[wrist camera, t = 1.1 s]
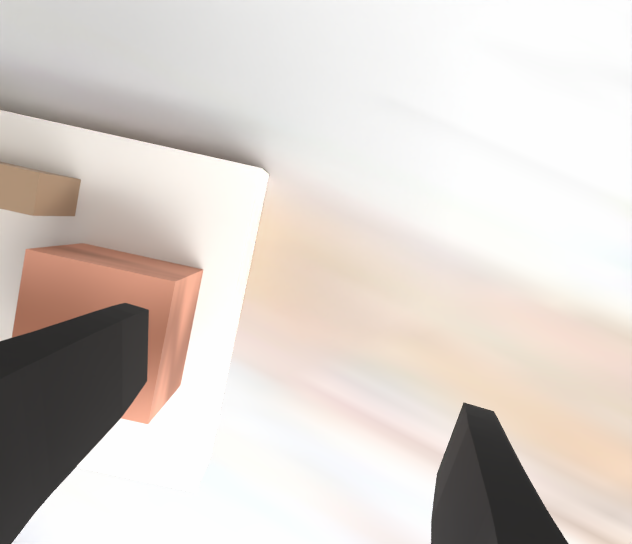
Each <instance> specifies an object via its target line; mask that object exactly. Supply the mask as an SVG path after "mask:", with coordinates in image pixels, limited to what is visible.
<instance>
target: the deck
mask: <svg viewBox="0 0 632 544" xmlns="http://www.w3.org/2000/svg"><path fill="white" fill-rule="evenodd" d="M268 179H269V174H268V173H267V172H266V171H265V170H263V169H262V168H259V167H255V166H250V165H246V164H241V163H237V162H232V161H228V160H223V159H219V158H214V157H210V156H205V155H201V154H196V153H192V152H187V151H183V150H178V149H174V148H169V147H165V146H160V145H156V144H151V143H147V142H142V141H138V140H133V139H129V138H125V137H120V136H116V135H111V134H107V133H102V132H98V131H93V130H89V129H84V128H80V127H75V126H71V125H66V124H62V123H57V122H53V121H48V120H44V119H39V118H35V117H30V116H26V115H21V114H17V113H12V112H8V111H3V110H0V341H2V340H6V339H9V338H12V332H13V326H14V320H15V314H16V307H17V301H18V295H19V288H20V282H21V276H22V269H23V263H24V257H25V251H26V249H30V248H40V247H50V246H60V245H69V244H79V243H85V244H89V245H94V246H98V247H103V248H108V249H112V250H117V251H121V252H126V253H130V254H135V255H140V256H144V257H149V258H153V259H158V260H162V261H167V262H171V263H176V264H181V265H185V266H190V267H194V268H199V269H203V274H202V279H201V284H200V289H199V295H198V300H197V305H196V310H195V315H194V320H193V325H192V330H191V335H190V340H189V345H188V350H187V355H186V360H185V365H184V371H183V376H182V381H181V386H180V387H179V388H178V389H177V390H176V392H175V393H174V394H173V395H172V396H171V398H170V399H169V400H168V401H167V402H166V404H165V405H164V406H163V407H162V408H161V410H160V411H159V412H158V413H157V414H156V415H155V417H154V418H153V419H152V420H151V421H150V423H149V424H144V423H139V422H134V421H130V420H125V419H120V420H119V421H118V422H117V423H116V424H115V425H114V426H113V428H112V429H111V430H110V431H109V432H108V433H107V434H106V435H105V436H104V437H103V438H102V440H101V441H100V442H99V443H98V444H97V445H96V446H95V447H94V448H93V449H92V450H91V451H90V453H89V454H88V455H87V456H86V457H85V458H84V459H83V460H82V461H81V462H80V463H79V464H78V465H77V468H82V469H87V470H92V471H96V472H101V473H106V474H110V475H115V476H120V477H124V478H129V479H134V480H139V481H143V482H148V483H153V484H157V485H162V486H167V487H172V488H176V489H181V490H186V491H190V492H196V490H197V488H198V485H199V483H200V481H201V479H202V477H203V474H204V472H205V470H206V468H207V466H208V463H209V461H210V459H211V454H212V449H213V444H214V439H215V435H216V430H217V425H218V420H219V415H220V410H221V406H222V401H223V396H224V391H225V386H226V382H227V377H228V372H229V367H230V362H231V357H232V353H233V348H234V343H235V338H236V333H237V328H238V324H239V319H240V314H241V309H242V304H243V300H244V295H245V290H246V285H247V280H248V275H249V271H250V266H251V261H252V256H253V251H254V246H255V242H256V237H257V232H258V227H259V222H260V217H261V213H262V208H263V203H264V198H265V193H266V189H267V184H268Z"/></svg>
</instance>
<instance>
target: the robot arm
mask: <svg viewBox="0 0 632 544" xmlns="http://www.w3.org/2000/svg"><path fill="white" fill-rule="evenodd" d="M148 327H149V309H145V308H142V307H138V306H135V305H132V304H128V303H122V304H118V305H114V306H110V307H107V308H104V309H100V310H97V311H94V312H91V313H88V314H85V315H82V316H79V317H76V318H73V319H70V320H67V321H64V322H61V323H58V324H54V325H51V326H48V327H45V328H42V329H39V330H36V331H33V332H30V333H26V334H23V335H20V336H16V337H13V338H9V339H6V340H2V341H0V544H11V543H12V542H13V541H14V539H15V538H16V537H17V535H18V534H19V533H20V532H21V530H22V529H23V528H24V526H25V525H26V524H27V522H28V521H29V520H30V519H31V517H32V516H33V515H34V513H35V512H36V511H37V510H38V509H39V507H40V506H41V505H42V504H43V503H44V502H45V500H46V499H47V498H48V497H49V496H50V495H51V493H52V492H53V491H54V490H55V489H56V488H57V487H58V486H59V485H60V484H61V483H62V482H63V481H64V479H65V478H66V477H67V476H68V475H69V474H70V473H71V472H72V471H73V470H74V469H75V468H76V467H77V465H78V464H79V463H80V462H81V461H82V460H83V459H84V458H85V457H86V456H87V455H88V454H89V453H90V451H91V450H92V449H93V448H94V447H95V446H96V445H97V444H98V443H99V442H100V441H101V440H102V438H103V437H104V436H105V435H106V434H107V433H108V432H109V431H110V430H111V429H112V428H113V426H114V425H115V424H116V423H117V422H118V421H119V420H120V419H121V417H122V416H123V415H124V414H125V412H126V411H127V409H128V408H129V407H130V405H131V404H132V403H133V401H134V400H135V398H136V397H137V395H138V394H139V392H140V391H141V389H142V388H143V386H144V385H145V384H146V382H147V372H148ZM431 544H568V542H567V541H566V539H565V538H564V536H563V535H562V533H561V532H560V530H559V528H558V527H557V525H556V524H555V522H554V521H553V519H552V517H551V516H550V514H549V512H548V511H547V509H546V507H545V506H544V504H543V502H542V500H541V499H540V497H539V495H538V493H537V492H536V490H535V488H534V486H533V485H532V483H531V481H530V479H529V478H528V476H527V474H526V472H525V470H524V469H523V467H522V465H521V463H520V461H519V459H518V457H517V455H516V453H515V451H514V450H513V448H512V446H511V444H510V442H509V440H508V438H507V436H506V434H505V432H504V430H503V428H502V426H501V424H500V422H499V420H498V418H497V416H496V415H495V413H494V411H491V410H487V409H484V408H480V407H477V406H474V405H470V404H467V403H463V406H462V409H461V411H460V414H459V417H458V419H457V422H456V425H455V427H454V430H453V433H452V435H451V438H450V441H449V443H448V446H447V449H446V451H445V454H444V457H443V459H442V462H441V465H440V467H439V470H438V473H437V478H436V486H435V494H434V502H433V511H432V521H431Z"/></svg>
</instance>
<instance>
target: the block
mask: <svg viewBox="0 0 632 544" xmlns="http://www.w3.org/2000/svg"><path fill="white" fill-rule="evenodd" d="M202 274H203V269H199V268H194V267H190V266H185V265H181V264H176V263H171V262H167V261H162V260H158V259H153V258H149V257H144V256H140V255H135V254H130V253H126V252H121V251H117V250H112V249H108V248H103V247H98V246H94V245H89V244H85V243H79V244H69V245H60V246H50V247H40V248H30V249H26V251H25V257H24V263H23V269H22V276H21V282H20V288H19V295H18V301H17V307H16V314H15V320H14V326H13V332H12V338H13V337H16V336H20V335H23V334H26V333H30V332H33V331H36V330H39V329H42V328H45V327H48V326H51V325H54V324H58V323H61V322H64V321H67V320H70V319H73V318H76V317H79V316H82V315H85V314H88V313H91V312H94V311H97V310H100V309H104V308H107V307H110V306H114V305H118V304H122V303H128V304H132V305H135V306H138V307H142V308H145V309H149V327H148V372H147V382H146V384H145V385H144V386H143V388H142V389H141V391H140V392H139V394H138V395H137V397H136V398H135V400H134V401H133V403H132V404H131V405H130V407H129V408H128V409H127V411H126V412H125V414H124V415H123V416H122V417H121V419H125V420H130V421H134V422H139V423H144V424H149V423H150V421H151V420H152V419H153V418H154V417H155V415H156V414H157V413H158V412H159V411H160V410H161V408H162V407H163V406H164V405H165V404H166V402H167V401H168V400H169V399H170V398H171V396H172V395H173V394H174V393H175V392H176V390H177V389H178V388H179V387H180V386H181V381H182V376H183V371H184V365H185V360H186V355H187V350H188V345H189V340H190V335H191V330H192V325H193V320H194V315H195V310H196V305H197V300H198V295H199V289H200V284H201V279H202Z"/></svg>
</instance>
